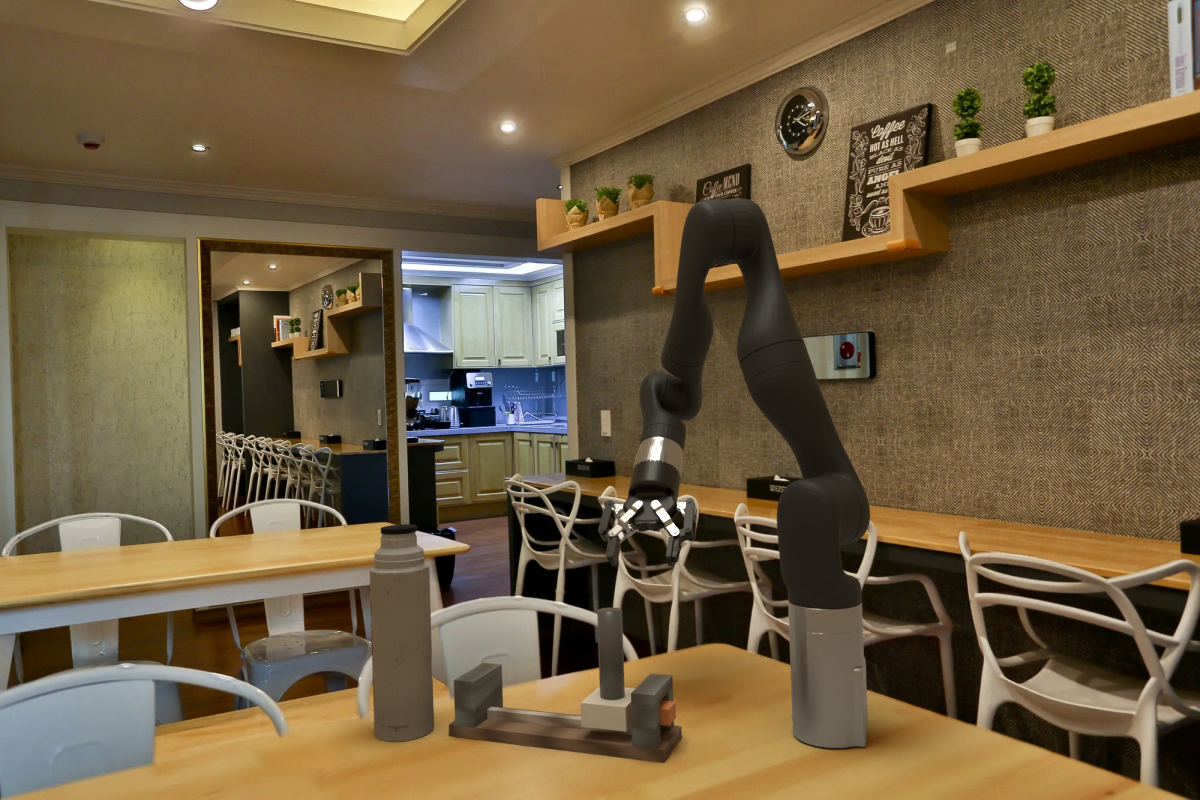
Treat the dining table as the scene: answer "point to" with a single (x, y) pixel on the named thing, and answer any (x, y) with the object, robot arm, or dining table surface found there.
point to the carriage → (609, 678)
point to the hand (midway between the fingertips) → (640, 563)
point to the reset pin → (666, 712)
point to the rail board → (562, 720)
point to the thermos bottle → (401, 637)
